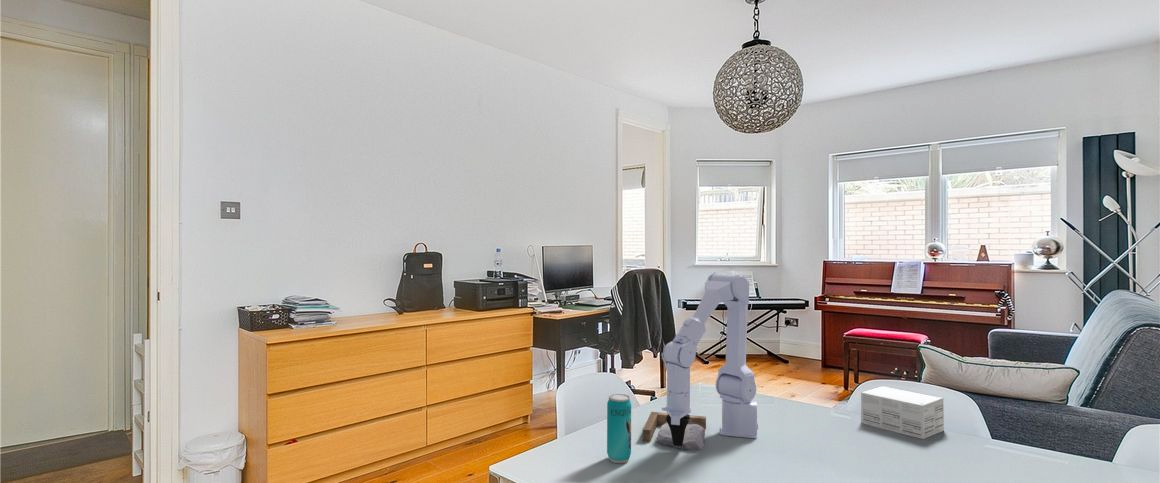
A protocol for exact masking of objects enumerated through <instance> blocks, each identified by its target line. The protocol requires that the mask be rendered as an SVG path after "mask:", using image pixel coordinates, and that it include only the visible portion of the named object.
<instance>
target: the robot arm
mask: <svg viewBox="0 0 1160 483" xmlns="http://www.w3.org/2000/svg"><path fill="white" fill-rule="evenodd" d="M704 289H705V292H704V294H703V296H702V298H701V300H700V302H699V304H698V306H697V308H696V310H695V312H694V313H693V315H692V316H691V317H688V318H686V319H684V321H683V323H682V325H681V327H680V329H679V331H678V332H677V333H676V335H675V336H674V338H673V339H672V341H670V342H668V343H666V344H665V345H664V347H663V350H662V352H661V359H662V361H663V363H664V369H665V371H666V405H662V406H661V410H662V411H663V412H664V411H665V413H668V415H667V417H666V421H667V423H668V425H669V427H670V430H671V435H672V441H673V444H674V445H675V446H682V444H683V440H684V434H685V429H686V426H687V424H688V422H689V419H690V413H691V408H690V407H691V406H690V405H691V399H690V398H691V366H692V365H693V363H694V362H695V360H696V355H697V354H696V353H697V350H698V348H697V347H698V345H699V343H700V341H701V339H702V337H703V336H704V335H705V333H706V332H707V331H706V330H707V329H706V325H705V324H706V322H707V321H708V319H709V318H710V317H711V315H712V314H713V313H714V311H715V310H716V309H717V307H718V306H719V304H720V303H723V304H724V305H725V306H726V307H727V312H726V313H727V314H726V316H727V318H726V319H727V320H726V322H727V323H726V342H725V343H726V345H725V346H726V347H725V364H723V365H722V366H720V367H719V368H718V372H717V376H716V377H717V378H716V381H715V390H716V392H717V394H719V399H721V424H720V436H727V437H737V438H738V437H739V438H748V439H757V438H758V430H759V423H758V405H757V404H758V403H757V402H758V401H754V398H755V397H756V394H757V385H756V381H755V373H754V371H752V370H751V369H750V368H749V366H747V364H746V363H747V340H748V339H747V336H748V333H747V332H748V312H749V311H748V308H749V304H750V303H749V302H750V301H749V300H750V281H749V280H748V279H747V278H746V276H745V275H744V274H741V273H738V274H735V273H734V274H733V273H718V272H712V273H711V274H710V275H709V276H708V278H707V280H706V281H705V283H704Z"/></svg>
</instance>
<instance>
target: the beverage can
mask: <svg viewBox="0 0 1160 483" xmlns="http://www.w3.org/2000/svg"><path fill="white" fill-rule="evenodd" d="M630 399H631V396H630V395H627V394H622V393H614V394H610V395H608V400H607V404H606V413H607V414H606V416H607V417H606V419H607V420H606V421H607V422H606V439H607V440H606V454H607V456H608V459H609V460H610V462H611V463H615V464H624V463H627V462H628V461H629V460H630V458H631V454H632V401H631V400H630Z"/></svg>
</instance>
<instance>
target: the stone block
mask: <svg viewBox="0 0 1160 483" xmlns="http://www.w3.org/2000/svg"><path fill="white" fill-rule="evenodd" d="M705 436H706V429H704V428H703V427H702V426H700V425H697V424H687V426H686V429H685V434H684V440H683V444H682V446H675V445H674V444H673V441H672V435H671V430H670V427H669V425H668V423H665V424H664V425H661V427H660V428H659V430H658V432H657V443H658V444H661V445H665V446H670V447H674V448H677V449H681V450H683V449H684V450H687V451H690V450H691V451H699V450H702V449H703V448H704V443H705V439H706V437H705Z"/></svg>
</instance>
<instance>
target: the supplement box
mask: <svg viewBox="0 0 1160 483" xmlns="http://www.w3.org/2000/svg"><path fill="white" fill-rule="evenodd" d="M860 401H861V402H860V407H861V408H860V411H861V412H860V416H861V417H860V424H865V425H868V426H871V427H875V428H879V429H883V430H887V431H890V432H893V433H894V432H895V433H897V434H901V435H904V436H905V435H906V436H909V437H910V436H911V437H913V438H916V439H920V440H924V439H925V440H926V439H927V438H930V437H932V436H934V435H936V434H939V433H941V432H943V431H945V422H944V421H945V420H944V418H945V417H944V416H945V415H944V411H945V410H944V408H945V407H944V398H943V397H941V396H939V397H938V396H934V395H930V394H929V395H928V394H923V393H918V392H913V391H908V390H903V389H900V388H899V389H898V388H892V387H888V386H883V385H882V386H879V387H876V388H872V389H868V390H865V391H862V392H861V393H860Z"/></svg>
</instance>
